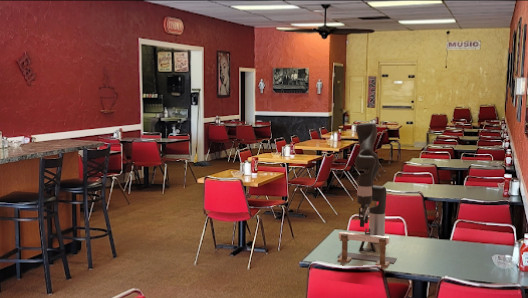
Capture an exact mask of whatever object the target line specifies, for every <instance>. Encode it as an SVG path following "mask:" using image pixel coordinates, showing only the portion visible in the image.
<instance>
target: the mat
mask: <svg viewBox="0 0 528 298" xmlns="http://www.w3.org/2000/svg"><path fill="white" fill-rule="evenodd" d="M340 256H342V251H341V252H340V253H339V254H338V255H337V258H339V257H340ZM347 257H351V258H352V259H351V260H358V261H359V260H360V261H367V262H375V263H377V261H380V255H374V254H365V253H359V252H358V253H357V252H349V251H347ZM396 261H397V257H391V256H385V262H389V264H393V265H394V264H395V263H396Z"/></svg>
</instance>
